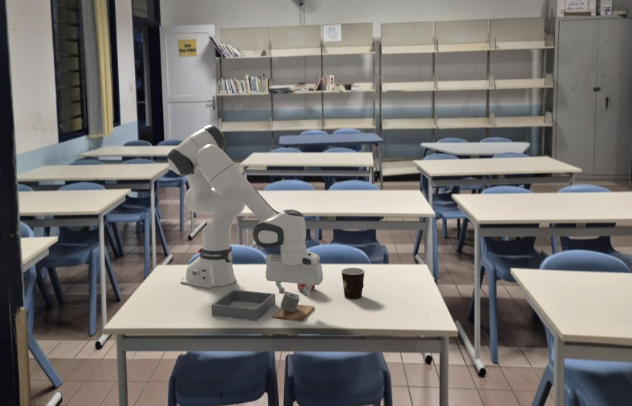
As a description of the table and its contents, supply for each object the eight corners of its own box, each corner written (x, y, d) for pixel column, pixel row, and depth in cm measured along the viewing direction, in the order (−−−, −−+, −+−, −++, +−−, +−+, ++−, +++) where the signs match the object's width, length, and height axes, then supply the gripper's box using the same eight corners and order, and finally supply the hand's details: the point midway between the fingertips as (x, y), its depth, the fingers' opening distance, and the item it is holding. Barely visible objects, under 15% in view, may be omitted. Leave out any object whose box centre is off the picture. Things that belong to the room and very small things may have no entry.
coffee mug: (341, 292, 243) (341, 267, 241) (364, 292, 243) (364, 267, 241) (341, 303, 232) (341, 277, 230) (365, 303, 232) (365, 277, 230)
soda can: (313, 293, 243) (312, 263, 241) (295, 292, 245) (294, 262, 242) (316, 287, 250) (316, 258, 248) (299, 286, 251) (298, 257, 249)
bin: (211, 315, 221) (211, 304, 221) (233, 299, 237) (232, 289, 236) (256, 320, 216) (256, 309, 215) (275, 304, 232) (275, 293, 231)
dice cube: (281, 309, 220) (285, 295, 219) (280, 304, 225) (285, 291, 224) (294, 313, 221) (299, 299, 220) (294, 307, 226) (298, 295, 225)
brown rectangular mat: (272, 317, 219) (272, 315, 218) (285, 305, 231) (285, 303, 230) (302, 321, 215) (302, 319, 215) (314, 308, 227) (314, 306, 227)
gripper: (262, 256, 220) (263, 294, 222) (318, 261, 213) (319, 300, 216) (269, 251, 225) (270, 288, 228) (324, 256, 219) (324, 294, 222)
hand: (294, 294), depth 222 cm, fingers open, 8 cm apart
